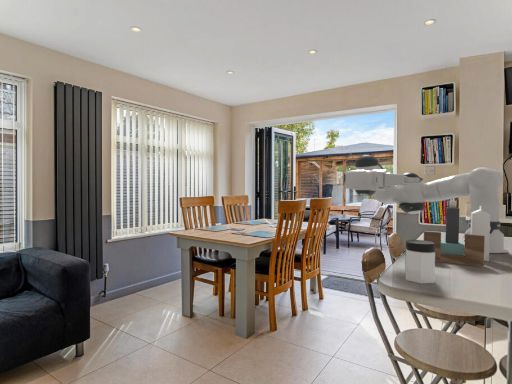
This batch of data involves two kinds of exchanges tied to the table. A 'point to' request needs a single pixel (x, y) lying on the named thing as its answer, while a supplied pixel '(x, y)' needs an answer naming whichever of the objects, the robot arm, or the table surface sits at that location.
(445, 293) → the table surface
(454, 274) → the table surface
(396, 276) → the table surface
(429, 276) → the jar
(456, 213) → the grey capped bottle
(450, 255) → the brown notched panel
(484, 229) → the milk
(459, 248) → the teal block
